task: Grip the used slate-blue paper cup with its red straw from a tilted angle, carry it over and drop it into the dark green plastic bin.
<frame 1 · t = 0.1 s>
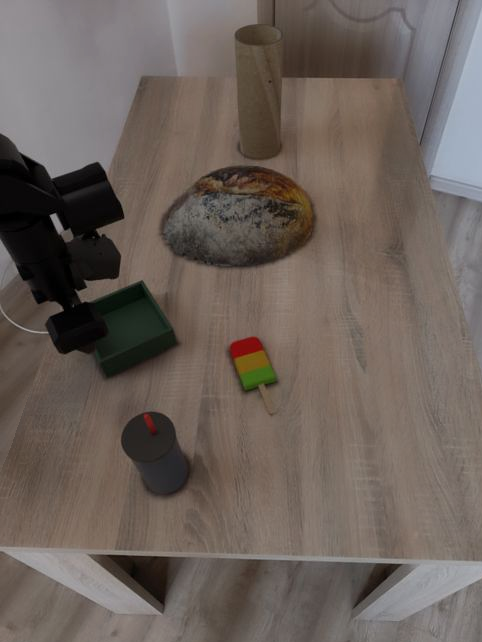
hand: (79, 328, 67), 15 cm above the table, tool pointing down, fingers open, 9 cm apart
popsicle: (257, 379, 80), on the table
bin: (128, 334, 85), on the table
cup with straw: (166, 472, 71), on the table
bread: (238, 221, 102), on the table
tube: (259, 147, 118), on the table
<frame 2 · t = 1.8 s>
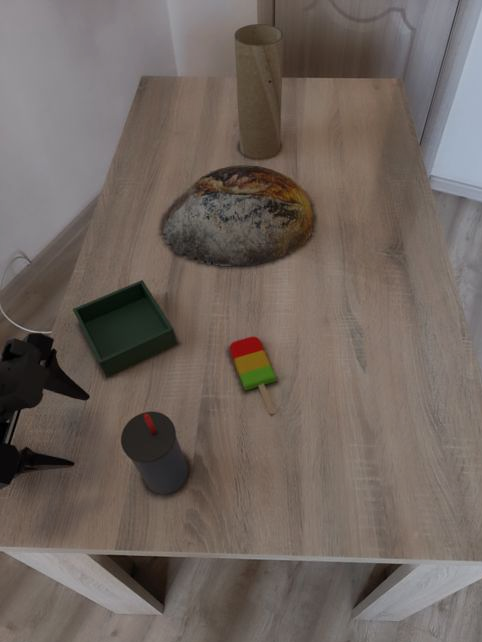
hand: (80, 430, 60), 13 cm above the table, tool tilted 45°, fingers open, 9 cm apart
nothing on the table moved.
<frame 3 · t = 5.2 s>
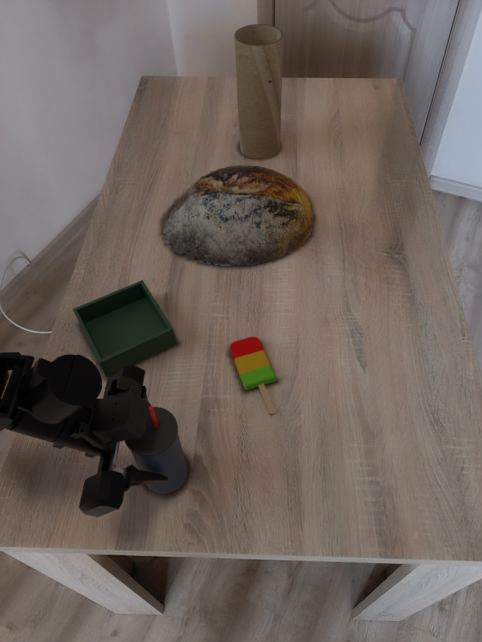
hand: (169, 454, 65), 7 cm above the table, tool tilted 45°, fingers closed on cup with straw, 7 cm apart
cup with straw: (165, 473, 70), on the table, touching gripper
everything else where it was.
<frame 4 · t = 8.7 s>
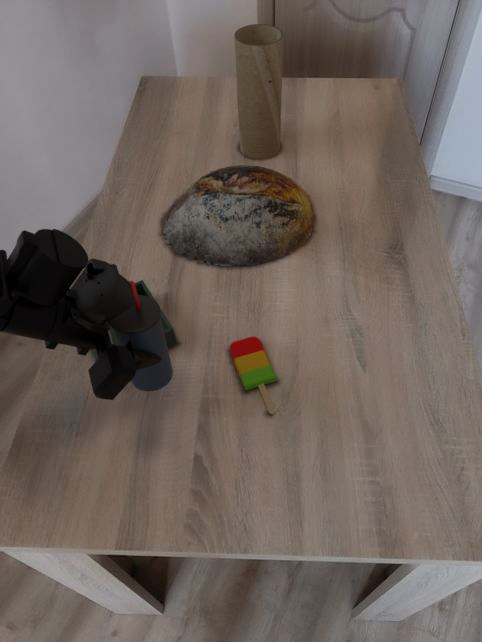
hand: (154, 341, 68), 13 cm above the table, tool tilted 45°, fingers closed on cup with straw, 6 cm apart
cup with straw: (152, 374, 73), point 7 cm above the table, tilted 6°, touching gripper
everything else where it was.
when the fingers open (8 cm above the table, at t = 12.7 s): cup with straw stays where it is, resting on bin.
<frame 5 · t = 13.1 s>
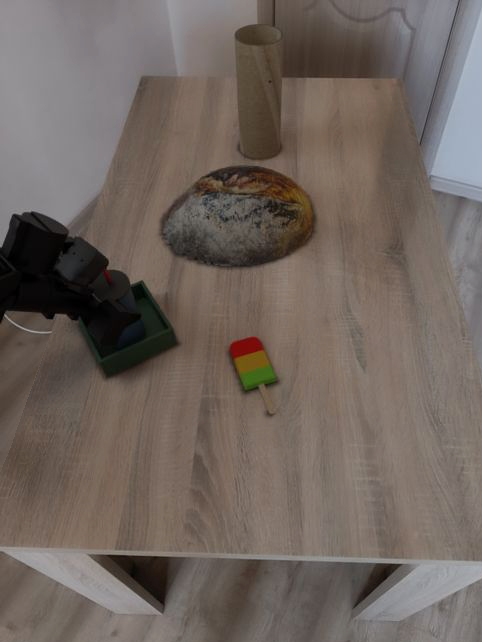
hand: (124, 301, 79), 8 cm above the table, tool tilted 45°, fingers open, 9 cm apart
cup with straw: (127, 336, 84), point 1 cm above the table, touching bin
everything else where it was.
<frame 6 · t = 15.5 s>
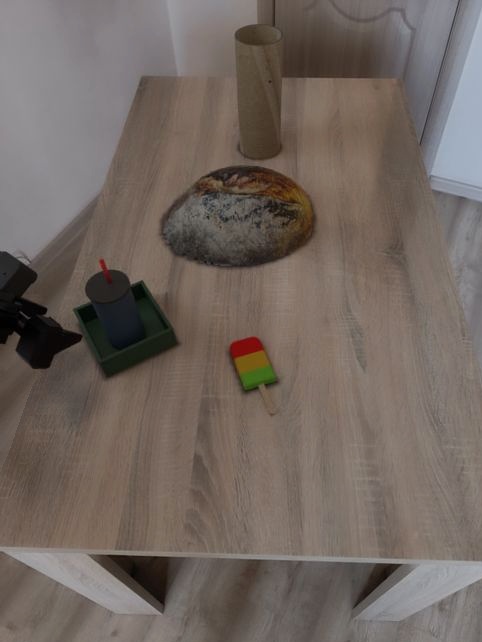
hand: (63, 324, 72), 12 cm above the table, tool tilted 40°, fingers open, 9 cm apart
nothing on the table moved.
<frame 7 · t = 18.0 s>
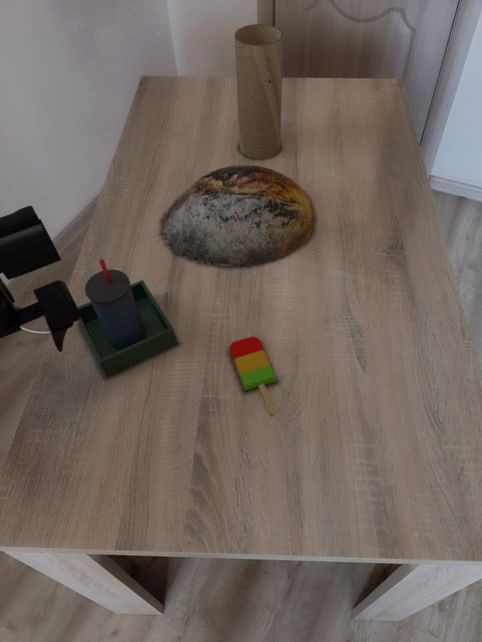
hand: (27, 363, 66), 13 cm above the table, tool pointing down, fingers open, 9 cm apart
nothing on the table moved.
at the end: cup with straw inside the target area in the bin (0.9 cm from its centre), point 0.5 cm above the bin's base; the gripper is holding nothing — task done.
